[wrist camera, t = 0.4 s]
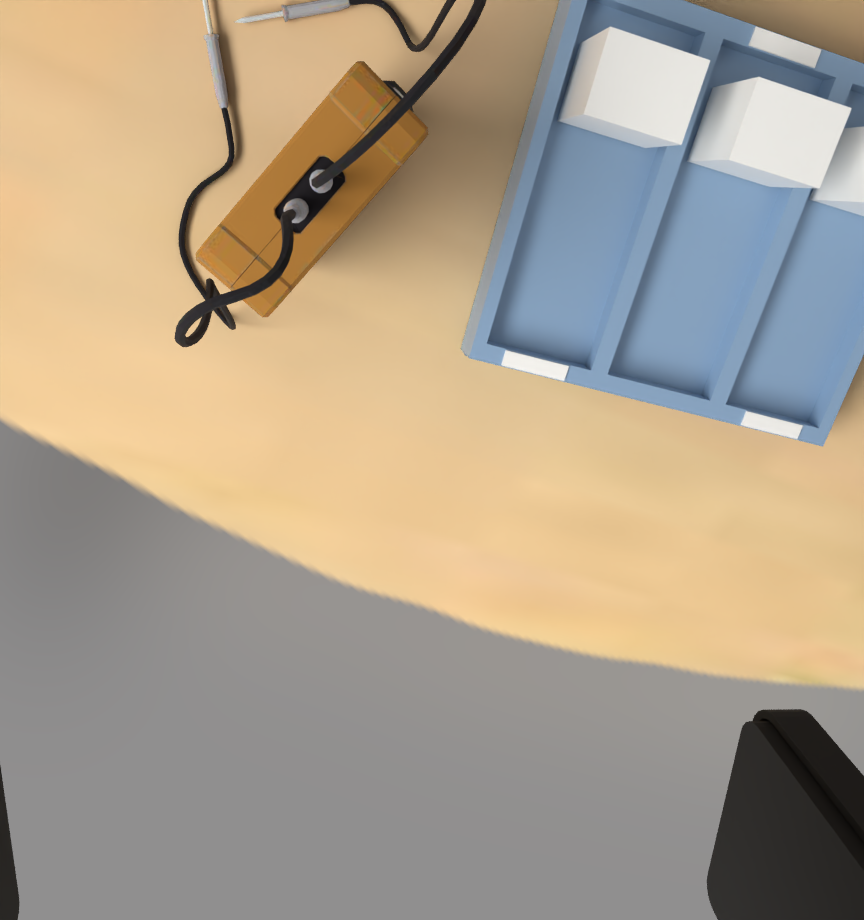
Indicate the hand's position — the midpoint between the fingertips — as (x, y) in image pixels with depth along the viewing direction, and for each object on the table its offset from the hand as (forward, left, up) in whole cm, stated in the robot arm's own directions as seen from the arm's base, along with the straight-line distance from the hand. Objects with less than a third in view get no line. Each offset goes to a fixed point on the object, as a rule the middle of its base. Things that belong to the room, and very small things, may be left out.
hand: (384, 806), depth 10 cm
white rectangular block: (-13, +14, -27) cm, 33 cm away
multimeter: (-8, -6, -29) cm, 31 cm away
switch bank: (-9, +14, -29) cm, 33 cm away
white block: (-13, +8, -27) cm, 31 cm away
